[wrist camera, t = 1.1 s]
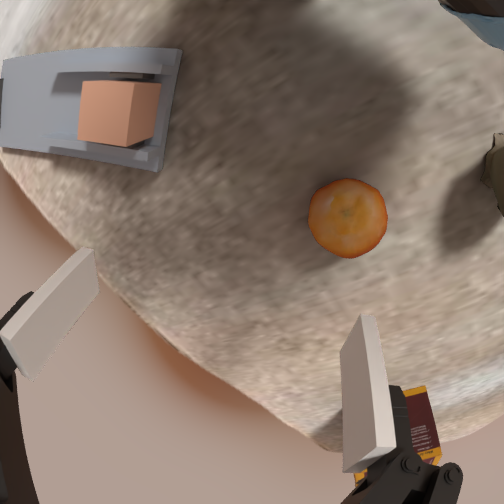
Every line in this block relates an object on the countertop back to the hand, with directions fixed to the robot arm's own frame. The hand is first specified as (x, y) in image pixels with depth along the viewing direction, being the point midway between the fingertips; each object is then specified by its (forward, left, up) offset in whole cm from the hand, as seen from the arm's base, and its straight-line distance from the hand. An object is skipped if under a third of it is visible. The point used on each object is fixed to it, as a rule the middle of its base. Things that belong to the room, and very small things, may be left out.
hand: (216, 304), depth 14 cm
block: (-5, -16, -20) cm, 26 cm away
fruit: (+1, +9, -22) cm, 24 cm away
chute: (-5, -27, -22) cm, 35 cm away
